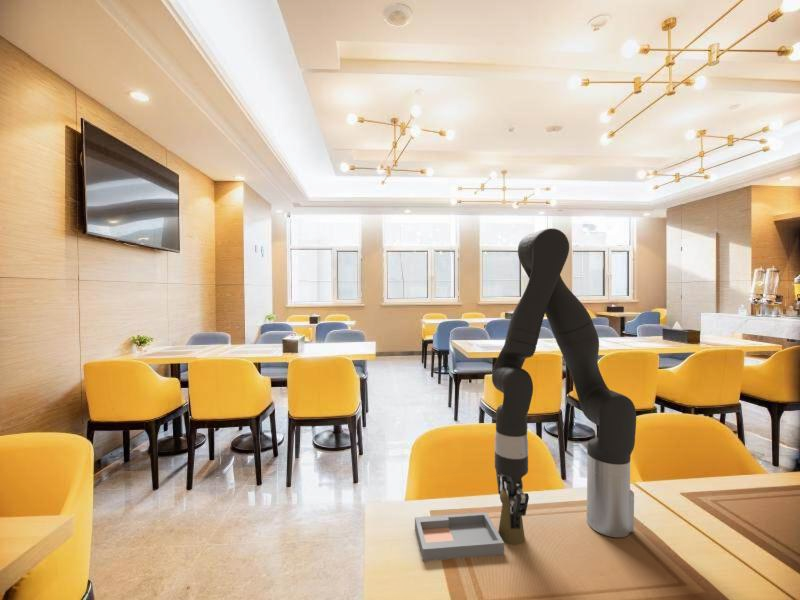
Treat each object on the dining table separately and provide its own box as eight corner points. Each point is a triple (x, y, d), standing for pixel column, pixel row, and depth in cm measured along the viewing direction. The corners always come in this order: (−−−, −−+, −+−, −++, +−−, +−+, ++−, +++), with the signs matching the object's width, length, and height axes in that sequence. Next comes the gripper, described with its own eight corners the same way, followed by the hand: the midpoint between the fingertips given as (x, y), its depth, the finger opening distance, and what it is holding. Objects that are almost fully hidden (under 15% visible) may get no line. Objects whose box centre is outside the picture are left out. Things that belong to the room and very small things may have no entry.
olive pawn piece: (526, 546, 85) (526, 498, 85) (498, 543, 86) (498, 495, 86) (523, 530, 91) (523, 484, 91) (497, 527, 92) (497, 482, 92)
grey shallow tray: (486, 522, 94) (486, 512, 94) (504, 554, 82) (504, 542, 82) (414, 527, 92) (414, 517, 92) (422, 561, 80) (422, 549, 80)
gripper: (541, 463, 81) (540, 541, 82) (514, 438, 96) (514, 504, 96) (507, 465, 81) (507, 544, 81) (485, 439, 95) (485, 506, 95)
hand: (511, 522), depth 89 cm, fingers closed on olive pawn piece, 4 cm apart
